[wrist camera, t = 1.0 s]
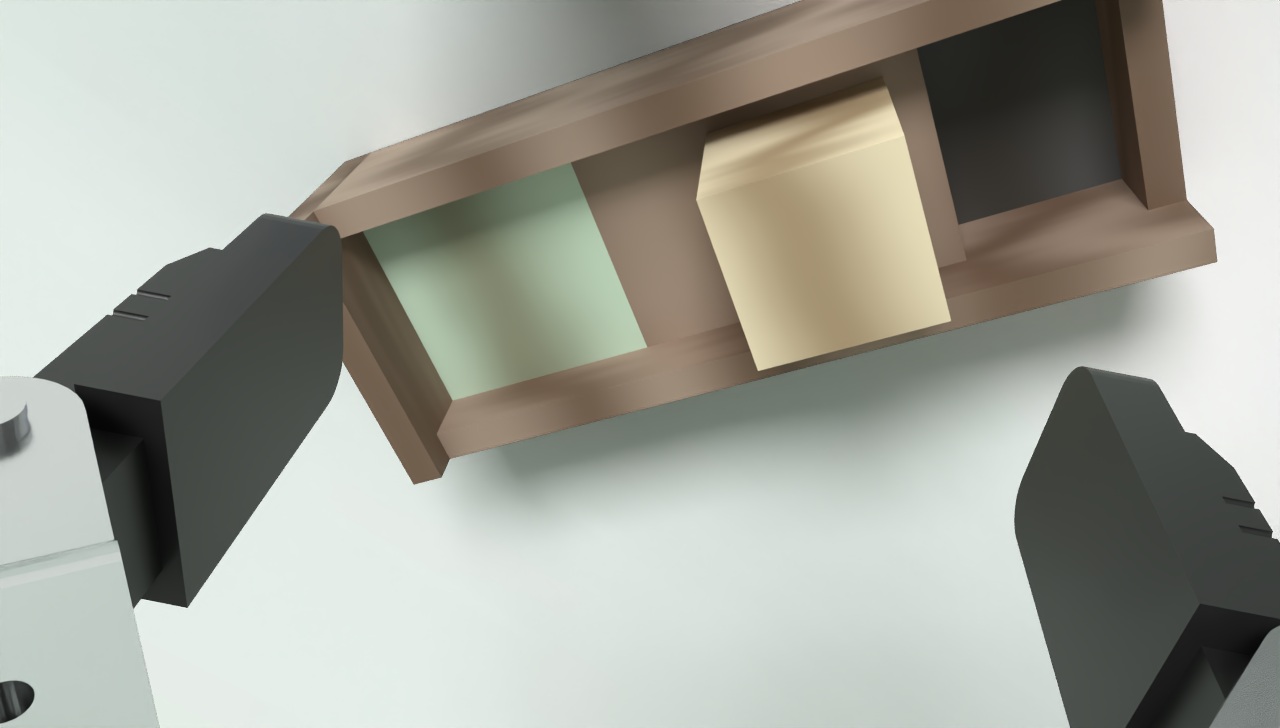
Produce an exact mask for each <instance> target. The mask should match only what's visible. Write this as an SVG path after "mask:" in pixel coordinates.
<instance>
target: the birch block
mask: <svg viewBox="0 0 1280 728" xmlns="http://www.w3.org/2000/svg"><path fill="white" fill-rule="evenodd" d="M696 201H697V204H698V206H699V209H700V212H701V215H702V217H703V220H704V223H705V226H706V228H707V231H708V234H709V237H710V240H711V242H712V245H713V248H714V251H715V253H716V256H717V259H718V262H719V264H720V267H721V270H722V273H723V276H724V278H725V281H726V284H727V287H728V289H729V292H730V295H731V298H732V300H733V303H734V306H735V309H736V311H737V314H738V317H739V320H740V323H741V325H742V328H743V331H744V334H745V336H746V339H747V342H748V345H749V347H750V350H751V353H752V356H753V359H754V361H755V364H756V367H757V370H758V371H760V370H764V369H768V368H772V367H776V366H780V365H783V364H787V363H791V362H795V361H799V360H803V359H807V358H810V357H814V356H818V355H822V354H826V353H830V352H834V351H837V350H841V349H845V348H849V347H853V346H857V345H861V344H865V343H868V342H872V341H876V340H880V339H884V338H888V337H892V336H895V335H899V334H903V333H907V332H911V331H915V330H919V329H922V328H926V327H930V326H934V325H938V324H942V323H946V322H950V321H951V318H950V314H949V310H948V306H947V302H946V298H945V294H944V290H943V286H942V282H941V278H940V274H939V270H938V266H937V262H936V258H935V255H934V251H933V247H932V243H931V239H930V235H929V231H928V227H927V223H926V219H925V215H924V211H923V207H922V203H921V199H920V195H919V191H918V187H917V183H916V179H915V175H914V171H913V167H912V163H911V159H910V155H909V151H908V148H907V144H906V140H905V136H904V133H903V130H902V127H901V125H900V122H899V119H898V116H897V114H896V111H895V108H894V105H893V103H892V100H891V97H890V94H889V92H888V89H887V86H886V83H885V80H884V78H883V76H882V77H879V78H876V79H873V80H870V81H867V82H864V83H861V84H858V85H855V86H852V87H849V88H846V89H843V90H840V91H836V92H833V93H830V94H827V95H824V96H821V97H818V98H815V99H812V100H809V101H806V102H803V103H800V104H797V105H794V106H791V107H787V108H784V109H781V110H778V111H775V112H772V113H769V114H766V115H763V116H760V117H757V118H754V119H751V120H748V121H745V122H742V123H738V124H735V125H732V126H729V127H726V128H723V129H720V130H717V131H714V132H711V133H708V134H706V140H705V147H704V153H703V159H702V166H701V172H700V179H699V185H698V192H697V198H696Z"/></svg>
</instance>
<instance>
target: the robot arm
mask: <svg viewBox="0 0 1280 728" xmlns="http://www.w3.org/2000/svg"><path fill="white" fill-rule="evenodd" d="M342 360H343V280H342V244H341V238H340V234H339V232H338V230H337V229H336V227H334V226H333V225H327V224H322V223H316V222H311V221H306V220H300V219H295V218H290V217H284V216H279V215H273V214H263V215H261V216H260V217H259V218H257V219H256V220H255V221H254V222H253V223H252V224H251V225H250V226H249V227H247V228H246V229H245V230H244V231H243V232H242V233H241V234H240V235H239V236H237V237H236V238H235V239H234V240H233V241H232V242H231V243H230V244H229V245H227V246H226V247H225V248H224V249H223V250H219V249H214V248H208V249H205V250H203V251H200V252H198V253H195V254H193V255H190V256H188V257H185V258H183V259H180V260H178V261H175V262H173V263H170V264H168V265H166V266H165V267H163V268H162V269H161V270H160V271H159V272H157V273H156V274H155V275H154V276H153V277H151V278H150V279H149V280H148V281H147V282H146V283H144V284H143V285H142V286H141V287H140V288H138V289H137V295H133V294H131V295H130V296H129V297H128V298H127V299H125V300H124V301H123V302H122V303H121V304H119V305H118V306H117V307H116V308H115V309H114V312H113V315H106V316H105V317H104V318H103V319H102V320H100V321H99V322H98V323H97V324H96V325H95V326H93V327H92V328H91V329H90V330H89V331H87V332H86V333H85V334H84V335H83V336H82V337H80V338H79V339H78V340H77V341H76V342H74V343H73V344H72V345H71V346H70V347H68V348H67V349H66V350H65V351H64V352H63V353H61V354H60V355H59V356H58V357H57V358H55V359H54V360H53V361H52V362H51V363H50V364H48V365H47V366H46V367H45V368H44V369H42V370H41V371H40V372H39V373H38V374H36V375H35V376H34V377H19V376H9V377H0V728H160V727H159V722H158V718H157V713H156V709H155V704H154V700H153V695H152V691H151V687H150V682H149V678H148V673H147V669H146V664H145V660H144V655H143V651H142V646H141V642H140V638H139V633H138V629H137V624H136V620H135V615H134V611H133V609H134V607H135V606H136V605H137V603H138V602H139V601H140V599H145V600H150V601H156V602H161V603H166V604H171V605H176V606H181V607H186V608H188V606H189V605H190V603H191V602H192V600H193V599H194V597H195V596H196V595H197V593H198V592H199V590H200V589H201V587H202V586H203V585H204V583H205V582H206V580H207V579H208V577H209V576H210V574H211V573H212V572H213V570H214V569H215V567H216V566H217V564H218V563H219V561H220V560H221V559H222V557H223V556H224V554H225V553H226V551H227V550H228V548H229V547H230V546H231V544H232V543H233V541H234V540H235V538H236V537H237V535H238V534H239V533H240V531H241V530H242V528H243V527H244V525H245V524H246V522H247V521H248V520H249V518H250V517H251V515H252V514H253V512H254V511H255V509H256V508H257V507H258V505H259V504H260V502H261V501H262V499H263V498H264V497H265V495H266V494H267V492H268V491H269V489H270V488H271V486H272V485H273V484H274V482H275V481H276V479H277V478H278V476H279V475H280V473H281V472H282V471H283V469H284V468H285V466H286V465H287V463H288V462H289V460H290V459H291V458H292V456H293V455H294V453H295V452H296V450H297V449H298V447H299V446H300V445H301V443H302V442H303V440H304V439H305V437H306V436H307V434H308V433H309V432H310V430H311V429H312V427H313V426H314V424H315V423H316V421H317V420H318V419H319V417H320V416H321V414H322V413H323V411H324V410H325V409H326V407H327V406H328V404H329V402H330V401H331V399H332V397H333V395H334V392H335V390H336V387H337V384H338V380H339V376H340V372H341V367H342ZM1254 504H1255V502H1254V500H1253V498H1252V497H1251V495H1250V493H1249V492H1248V490H1247V488H1246V487H1245V485H1244V484H1243V482H1242V480H1241V479H1240V477H1239V475H1238V474H1237V472H1236V470H1235V469H1234V467H1232V466H1231V465H1230V464H1229V463H1228V462H1227V461H1226V460H1224V459H1223V458H1222V457H1221V456H1220V455H1219V454H1218V453H1217V452H1215V451H1214V450H1213V449H1212V448H1211V447H1210V446H1209V445H1207V444H1206V443H1205V442H1204V441H1203V440H1202V439H1201V438H1200V437H1198V436H1197V435H1196V434H1193V433H1187V432H1185V431H1184V429H1183V427H1182V426H1181V424H1180V422H1179V420H1178V419H1177V417H1176V415H1175V414H1174V412H1173V410H1172V408H1171V407H1170V405H1169V403H1168V401H1167V400H1166V398H1165V396H1164V394H1163V393H1162V391H1161V389H1160V387H1159V386H1158V384H1157V383H1156V382H1155V381H1153V380H1151V379H1147V378H1142V377H1136V376H1131V375H1126V374H1120V373H1115V372H1109V371H1104V370H1099V369H1093V368H1088V367H1083V366H1082V367H1078V368H1076V369H1074V370H1073V371H1072V372H1071V373H1070V375H1069V376H1068V377H1067V379H1066V380H1065V382H1064V384H1063V386H1062V388H1061V391H1060V393H1059V395H1058V397H1057V400H1056V402H1055V404H1054V407H1053V409H1052V411H1051V414H1050V416H1049V418H1048V420H1047V423H1046V425H1045V427H1044V430H1043V432H1042V434H1041V437H1040V439H1039V441H1038V444H1037V446H1036V448H1035V450H1034V453H1033V455H1032V457H1031V460H1030V462H1029V464H1028V467H1027V469H1026V471H1025V473H1024V476H1023V478H1022V481H1021V484H1020V487H1019V490H1018V494H1017V499H1016V505H1015V518H1014V523H1015V534H1016V539H1017V542H1018V546H1019V549H1020V553H1021V556H1022V560H1023V563H1024V567H1025V570H1026V574H1027V578H1028V581H1029V585H1030V588H1031V592H1032V595H1033V599H1034V602H1035V606H1036V609H1037V613H1038V616H1039V620H1040V623H1041V627H1042V630H1043V634H1044V637H1045V641H1046V644H1047V648H1048V651H1049V655H1050V658H1051V662H1052V665H1053V669H1054V672H1055V676H1056V679H1057V683H1058V687H1059V690H1060V694H1061V697H1062V701H1063V704H1064V708H1065V711H1066V715H1067V718H1068V722H1069V725H1070V728H1280V543H1279V541H1278V539H1274V538H1272V532H1273V531H1272V529H1271V528H1270V526H1269V525H1268V523H1267V521H1266V520H1265V518H1264V516H1263V515H1262V513H1261V511H1260V510H1259V509H1254Z"/></svg>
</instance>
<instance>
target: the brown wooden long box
mask: <svg viewBox="0 0 1280 728" xmlns="http://www.w3.org/2000/svg"><path fill="white" fill-rule="evenodd" d="M882 76H883V78H884V80H885V83H886V86H887V89H888V92H889V94H890V97H891V100H892V103H893V105H894V108H895V111H896V114H897V116H898V119H899V122H900V125H901V127H902V130H903V133H904V136H905V140H906V144H907V148H908V151H909V155H910V159H911V163H912V167H913V171H914V175H915V179H916V183H917V187H918V191H919V195H920V199H921V203H922V207H923V211H924V215H925V219H926V223H927V227H928V231H929V235H930V239H931V243H932V247H933V251H934V255H935V258H936V262H937V266H938V270H939V274H940V278H941V282H942V286H943V290H944V294H945V298H946V302H947V306H948V310H949V314H950V318H951V321H950V322H946V323H942V324H938V325H934V326H930V327H926V328H922V329H919V330H915V331H911V332H907V333H903V334H899V335H895V336H892V337H888V338H884V339H880V340H876V341H872V342H868V343H865V344H861V345H857V346H853V347H849V348H845V349H841V350H837V351H834V352H830V353H826V354H822V355H818V356H814V357H810V358H807V359H803V360H799V361H795V362H791V363H787V364H783V365H780V366H776V367H772V368H768V369H764V370H760V371H758V370H757V367H756V364H755V361H754V359H753V356H752V353H751V350H750V347H749V345H748V342H747V339H746V336H745V334H744V331H743V328H742V325H741V323H740V320H739V317H738V314H737V311H736V309H735V306H734V303H733V300H732V298H731V295H730V292H729V289H728V287H727V284H726V281H725V278H724V276H723V273H722V270H721V267H720V264H719V262H718V259H717V256H716V253H715V251H714V248H713V245H712V242H711V240H710V237H709V234H708V231H707V228H706V226H705V223H704V220H703V217H702V215H701V212H700V209H699V206H698V204H697V201H696V198H697V192H698V185H699V179H700V172H701V166H702V159H703V153H704V147H705V140H706V134H708V133H711V132H714V131H717V130H720V129H723V128H726V127H729V126H732V125H735V124H738V123H742V122H745V121H748V120H751V119H754V118H757V117H760V116H763V115H766V114H769V113H772V112H775V111H778V110H781V109H784V108H787V107H791V106H794V105H797V104H800V103H803V102H806V101H809V100H812V99H815V98H818V97H821V96H824V95H827V94H830V93H833V92H836V91H840V90H843V89H846V88H849V87H852V86H855V85H858V84H861V83H864V82H867V81H870V80H873V79H876V78H879V77H882ZM289 217H290V218H295V219H300V220H306V221H311V222H316V223H322V224H327V225H333V226H334V227H336V229H337V230H338V232H339V234H340V238H341V244H342V280H343V360H342V361H343V363H344V365H345V366H346V368H347V370H348V372H349V373H350V375H351V377H352V378H353V380H354V382H355V384H356V385H357V387H358V389H359V391H360V392H361V394H362V396H363V397H364V399H365V401H366V403H367V404H368V406H369V408H370V410H371V411H372V413H373V415H374V417H375V418H376V420H377V422H378V423H379V425H380V427H381V429H382V430H383V432H384V434H385V436H386V437H387V439H388V441H389V442H390V444H391V446H392V448H393V449H394V451H395V453H396V455H397V456H398V458H399V460H400V461H401V463H402V465H403V467H404V468H405V470H406V472H407V474H408V475H409V477H410V479H411V480H412V482H413V484H417V483H421V482H425V481H429V480H433V479H437V478H441V477H442V475H443V473H444V471H445V469H446V466H447V464H448V462H449V460H450V459H451V458H455V457H459V456H463V455H467V454H471V453H474V452H478V451H482V450H486V449H490V448H494V447H498V446H502V445H506V444H510V443H513V442H517V441H521V440H525V439H529V438H533V437H537V436H541V435H545V434H549V433H552V432H556V431H560V430H564V429H568V428H572V427H576V426H580V425H584V424H587V423H591V422H595V421H599V420H603V419H607V418H611V417H615V416H619V415H623V414H626V413H630V412H634V411H638V410H642V409H646V408H650V407H654V406H658V405H662V404H665V403H669V402H673V401H677V400H681V399H685V398H689V397H693V396H697V395H701V394H704V393H708V392H712V391H716V390H720V389H724V388H728V387H732V386H736V385H739V384H743V383H747V382H751V381H755V380H759V379H763V378H767V377H771V376H775V375H778V374H782V373H786V372H790V371H794V370H798V369H802V368H806V367H810V366H814V365H817V364H821V363H825V362H829V361H833V360H837V359H841V358H845V357H849V356H853V355H856V354H860V353H864V352H868V351H872V350H876V349H880V348H884V347H888V346H892V345H895V344H899V343H903V342H907V341H911V340H915V339H919V338H923V337H927V336H930V335H934V334H938V333H942V332H946V331H950V330H954V329H958V328H962V327H966V326H969V325H973V324H977V323H981V322H985V321H989V320H993V319H997V318H1001V317H1005V316H1008V315H1012V314H1016V313H1020V312H1024V311H1028V310H1032V309H1036V308H1040V307H1044V306H1047V305H1051V304H1055V303H1059V302H1063V301H1067V300H1071V299H1075V298H1079V297H1082V296H1086V295H1090V294H1094V293H1098V292H1102V291H1106V290H1110V289H1114V288H1118V287H1121V286H1125V285H1129V284H1133V283H1137V282H1141V281H1145V280H1149V279H1153V278H1157V277H1160V276H1164V275H1168V274H1172V273H1176V272H1180V271H1184V270H1188V269H1192V268H1196V267H1199V266H1203V265H1207V264H1211V263H1215V262H1217V254H1216V245H1215V236H1214V228H1213V227H1212V226H1211V225H1210V224H1209V223H1208V222H1207V221H1206V220H1205V219H1204V218H1203V217H1202V216H1201V215H1200V214H1199V212H1198V211H1197V210H1196V209H1195V208H1194V207H1193V206H1192V205H1191V204H1190V203H1189V202H1188V201H1187V198H1186V190H1185V182H1184V174H1183V166H1182V157H1181V149H1180V141H1179V133H1178V125H1177V117H1176V109H1175V101H1174V92H1173V84H1172V76H1171V68H1170V60H1169V52H1168V44H1167V35H1166V27H1165V19H1164V11H1163V3H1162V0H802V1H799V2H796V3H793V4H790V5H787V6H785V7H782V8H779V9H776V10H773V11H770V12H768V13H765V14H762V15H759V16H756V17H753V18H751V19H748V20H745V21H742V22H739V23H736V24H734V25H731V26H728V27H725V28H722V29H720V30H717V31H714V32H711V33H708V34H705V35H703V36H700V37H697V38H694V39H691V40H688V41H686V42H683V43H680V44H677V45H674V46H671V47H669V48H666V49H663V50H660V51H657V52H654V53H652V54H649V55H646V56H643V57H640V58H637V59H635V60H632V61H629V62H626V63H623V64H620V65H618V66H615V67H612V68H609V69H606V70H603V71H601V72H598V73H595V74H592V75H589V76H586V77H584V78H581V79H578V80H575V81H572V82H570V83H567V84H564V85H561V86H558V87H555V88H553V89H550V90H547V91H544V92H541V93H538V94H536V95H533V96H530V97H527V98H524V99H521V100H519V101H516V102H513V103H510V104H507V105H504V106H502V107H499V108H496V109H493V110H490V111H487V112H485V113H482V114H479V115H476V116H473V117H470V118H468V119H465V120H462V121H459V122H456V123H453V124H451V125H448V126H445V127H442V128H439V129H436V130H434V131H431V132H428V133H425V134H422V135H420V136H417V137H414V138H411V139H408V140H405V141H403V142H400V143H397V144H394V145H391V146H388V147H386V148H383V149H380V150H377V151H374V152H371V153H369V154H366V155H363V156H360V157H357V158H354V159H352V160H349V161H346V162H344V163H343V164H342V165H341V166H340V167H339V168H338V169H337V170H336V171H335V172H334V173H333V174H332V175H331V176H330V177H329V178H328V179H327V180H326V181H325V182H324V183H323V184H322V185H321V186H320V187H319V188H318V189H316V190H315V191H314V192H313V193H312V194H311V195H310V196H309V197H308V198H307V199H306V200H305V201H304V202H303V203H302V204H301V205H300V206H299V207H298V208H297V209H296V210H295V211H294V212H293V213H292V214H291V215H290V216H289Z"/></svg>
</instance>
